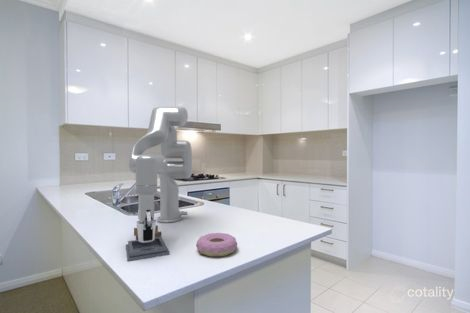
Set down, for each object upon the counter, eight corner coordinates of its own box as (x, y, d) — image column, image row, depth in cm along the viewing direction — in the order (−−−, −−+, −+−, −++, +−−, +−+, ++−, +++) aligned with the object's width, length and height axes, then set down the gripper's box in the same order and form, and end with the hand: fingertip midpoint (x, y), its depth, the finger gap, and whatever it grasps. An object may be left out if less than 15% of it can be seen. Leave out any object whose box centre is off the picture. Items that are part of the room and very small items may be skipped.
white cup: (146, 244, 93) (146, 224, 92) (132, 241, 96) (132, 222, 95) (160, 238, 99) (160, 220, 99) (146, 235, 102) (146, 218, 102)
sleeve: (157, 231, 120) (157, 225, 120) (161, 239, 110) (161, 232, 110) (134, 234, 116) (134, 227, 116) (136, 242, 106) (136, 235, 106)
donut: (221, 240, 109) (221, 228, 109) (245, 251, 97) (245, 238, 97) (188, 249, 99) (188, 236, 99) (211, 263, 88) (211, 248, 87)
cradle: (162, 241, 107) (162, 235, 107) (169, 254, 94) (169, 247, 94) (125, 247, 101) (125, 240, 101) (127, 261, 88) (127, 254, 88)
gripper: (134, 186, 103) (134, 232, 103) (137, 193, 87) (138, 246, 88) (153, 185, 106) (154, 229, 107) (160, 192, 91) (161, 243, 91)
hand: (146, 237), depth 97 cm, fingers closed on white cup, 6 cm apart
